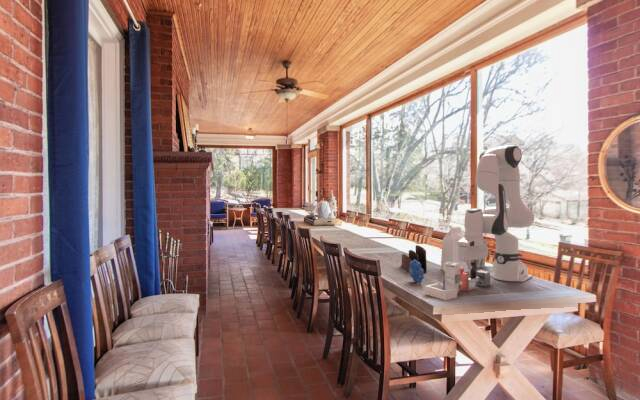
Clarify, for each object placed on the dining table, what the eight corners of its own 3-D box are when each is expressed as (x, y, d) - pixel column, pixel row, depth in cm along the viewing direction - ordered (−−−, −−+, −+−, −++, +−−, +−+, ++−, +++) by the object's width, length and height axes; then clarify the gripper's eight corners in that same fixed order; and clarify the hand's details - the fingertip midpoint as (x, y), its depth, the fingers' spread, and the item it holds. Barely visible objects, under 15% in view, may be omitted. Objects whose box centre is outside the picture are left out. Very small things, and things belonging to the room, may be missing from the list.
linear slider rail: (483, 281, 215) (483, 257, 215) (495, 283, 210) (496, 259, 209) (454, 288, 202) (454, 263, 201) (466, 291, 196) (466, 265, 195)
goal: (436, 291, 198) (436, 283, 198) (457, 297, 188) (457, 288, 188) (425, 294, 194) (425, 285, 193) (445, 300, 184) (445, 291, 183)
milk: (457, 267, 251) (457, 225, 249) (469, 271, 240) (470, 227, 239) (440, 269, 247) (440, 226, 246) (452, 273, 236) (452, 228, 235)
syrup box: (447, 290, 199) (447, 261, 198) (459, 292, 195) (459, 262, 195) (442, 293, 195) (443, 263, 194) (454, 295, 191) (455, 264, 190)
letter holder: (416, 266, 257) (417, 243, 256) (426, 273, 237) (427, 249, 237) (401, 266, 257) (401, 244, 256) (409, 273, 237) (410, 249, 236)
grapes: (403, 280, 220) (403, 258, 219) (413, 279, 222) (413, 257, 221) (415, 285, 209) (415, 262, 208) (426, 284, 211) (426, 261, 211)
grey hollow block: (480, 283, 213) (480, 270, 212) (490, 285, 208) (490, 272, 208) (475, 284, 210) (475, 271, 210) (484, 287, 206) (485, 273, 205)
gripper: (480, 238, 212) (480, 264, 213) (455, 242, 200) (455, 270, 201) (491, 239, 207) (491, 267, 207) (466, 243, 195) (466, 272, 196)
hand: (473, 268), depth 204 cm, fingers open, 4 cm apart
